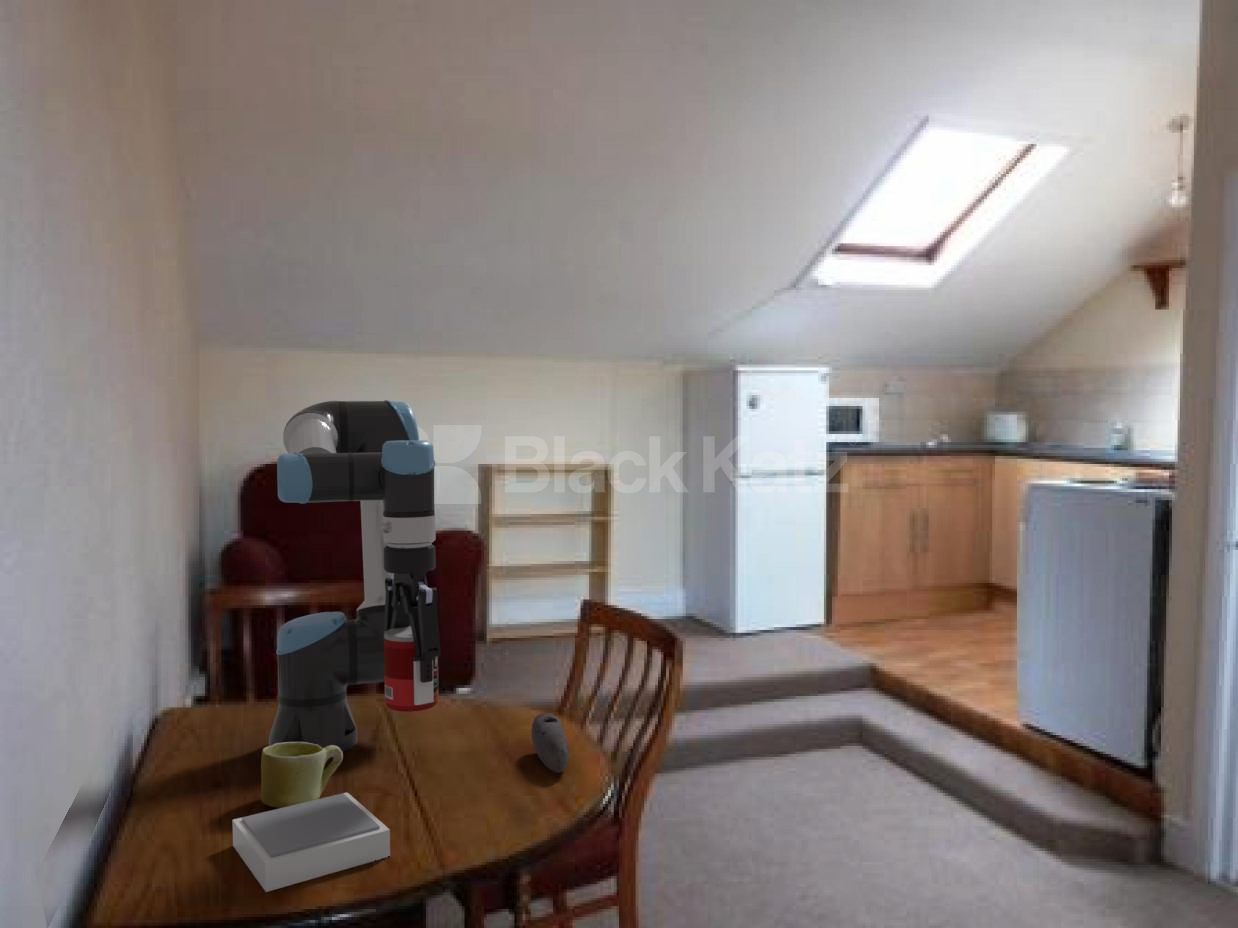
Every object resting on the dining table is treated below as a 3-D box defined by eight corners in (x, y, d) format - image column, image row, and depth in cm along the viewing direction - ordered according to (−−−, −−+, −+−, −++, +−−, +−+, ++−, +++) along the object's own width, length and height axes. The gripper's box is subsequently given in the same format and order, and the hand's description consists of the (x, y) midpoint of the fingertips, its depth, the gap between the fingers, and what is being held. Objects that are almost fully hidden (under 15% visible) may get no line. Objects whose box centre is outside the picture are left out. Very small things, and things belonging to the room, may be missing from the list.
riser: (233, 845, 127) (232, 816, 127) (347, 816, 137) (347, 789, 136) (265, 891, 114) (265, 859, 114) (390, 856, 124) (389, 826, 124)
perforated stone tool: (575, 778, 151) (574, 736, 151) (543, 781, 150) (542, 739, 149) (559, 748, 166) (559, 709, 165) (530, 750, 164) (529, 711, 164)
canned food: (426, 713, 134) (425, 638, 134) (375, 710, 136) (374, 636, 136) (447, 698, 142) (446, 626, 142) (398, 695, 144) (397, 624, 143)
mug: (256, 809, 134) (267, 737, 138) (249, 807, 143) (260, 740, 147) (342, 811, 139) (351, 742, 143) (331, 809, 148) (339, 744, 151)
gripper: (359, 539, 144) (362, 684, 145) (414, 553, 127) (417, 718, 128) (405, 535, 149) (407, 677, 150) (464, 549, 132) (466, 708, 133)
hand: (411, 695), depth 139 cm, fingers closed on canned food, 8 cm apart
